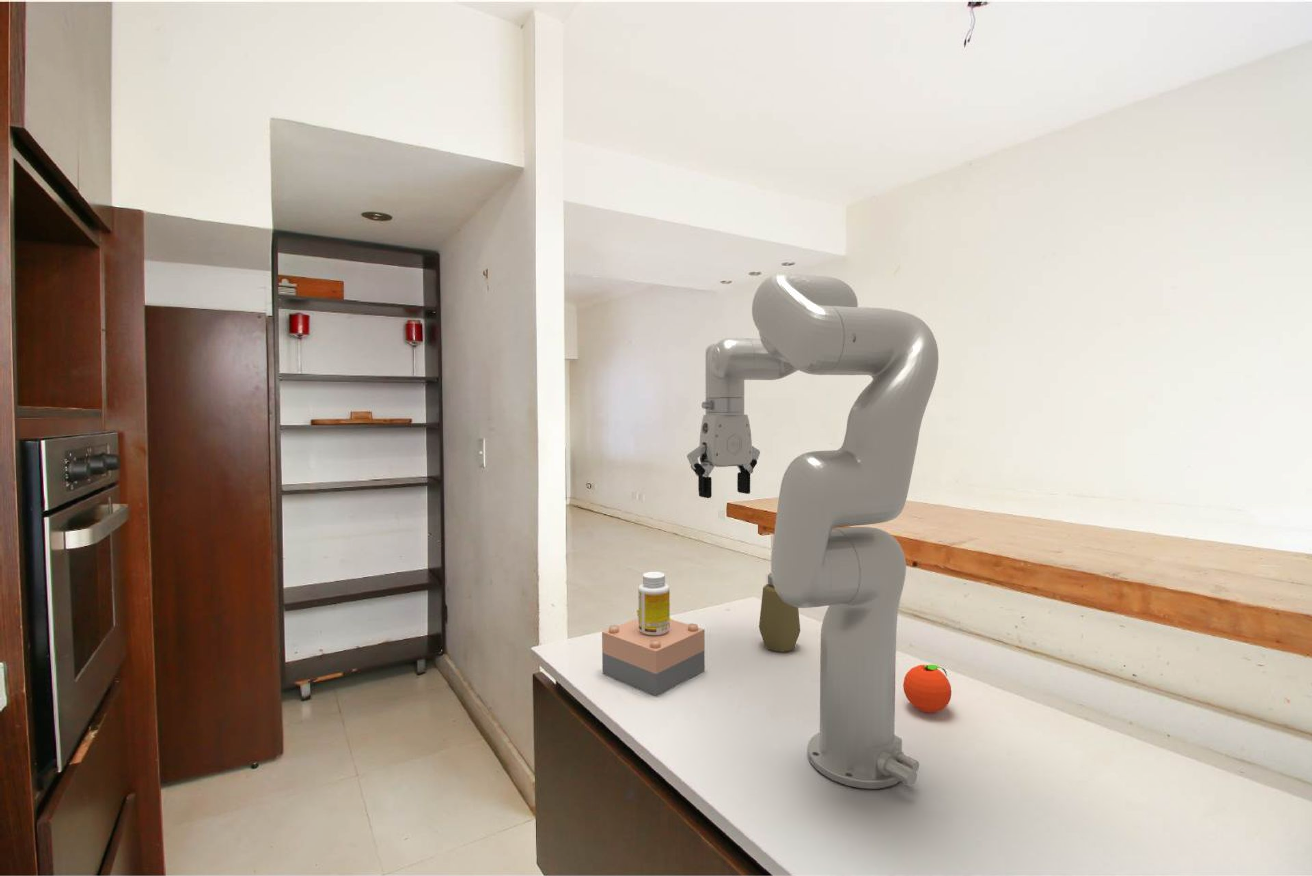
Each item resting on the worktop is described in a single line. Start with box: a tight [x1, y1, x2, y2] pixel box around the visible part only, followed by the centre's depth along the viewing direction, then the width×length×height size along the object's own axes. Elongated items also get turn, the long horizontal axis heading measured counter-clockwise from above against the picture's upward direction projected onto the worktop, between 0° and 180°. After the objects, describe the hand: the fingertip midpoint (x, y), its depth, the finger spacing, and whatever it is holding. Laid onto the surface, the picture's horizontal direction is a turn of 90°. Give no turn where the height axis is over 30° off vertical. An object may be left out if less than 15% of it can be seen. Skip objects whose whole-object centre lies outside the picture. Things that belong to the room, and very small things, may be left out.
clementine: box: [902, 664, 952, 714], centre depth 95 cm, size 8×7×7 cm
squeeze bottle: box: [758, 572, 801, 652], centre depth 120 cm, size 8×8×18 cm
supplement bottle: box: [638, 571, 671, 635], centre depth 109 cm, size 6×6×10 cm
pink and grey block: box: [601, 617, 706, 697], centre depth 109 cm, size 13×13×8 cm
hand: (724, 495), depth 119 cm, fingers open, 9 cm apart
